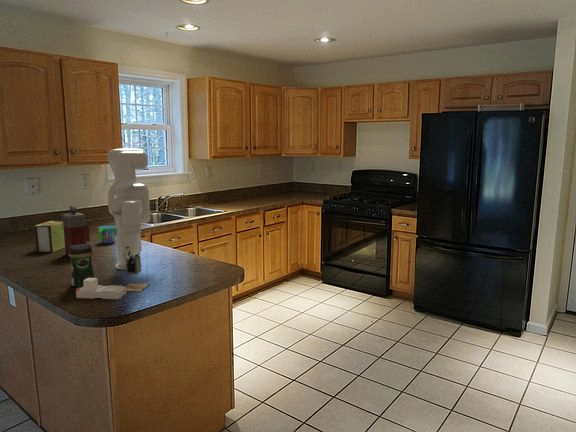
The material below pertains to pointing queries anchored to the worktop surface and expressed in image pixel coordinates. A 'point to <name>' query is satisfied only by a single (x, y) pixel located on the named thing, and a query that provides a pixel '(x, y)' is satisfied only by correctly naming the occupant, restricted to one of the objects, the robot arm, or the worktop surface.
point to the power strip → (99, 290)
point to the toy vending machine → (75, 229)
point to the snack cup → (107, 234)
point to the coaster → (135, 287)
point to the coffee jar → (80, 264)
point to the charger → (136, 265)
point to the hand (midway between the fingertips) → (133, 269)
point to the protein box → (49, 236)
